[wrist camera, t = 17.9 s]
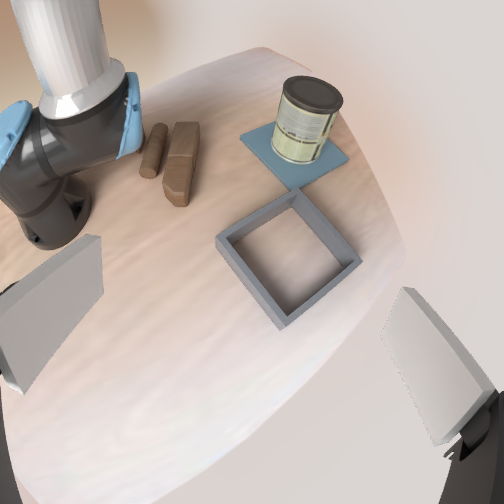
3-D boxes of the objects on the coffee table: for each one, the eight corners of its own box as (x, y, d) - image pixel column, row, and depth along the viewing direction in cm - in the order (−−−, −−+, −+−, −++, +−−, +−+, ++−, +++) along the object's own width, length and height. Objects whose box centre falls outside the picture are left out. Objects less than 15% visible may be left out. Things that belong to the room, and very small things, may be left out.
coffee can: (269, 126, 55) (281, 71, 42) (316, 132, 56) (336, 81, 43) (271, 162, 51) (286, 103, 38) (323, 168, 52) (349, 114, 39)
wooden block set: (200, 114, 49) (186, 190, 42) (200, 135, 54) (189, 209, 47) (117, 116, 47) (87, 189, 40) (123, 136, 52) (98, 207, 45)
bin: (215, 247, 44) (215, 235, 40) (292, 199, 49) (297, 186, 46) (279, 330, 40) (285, 326, 36) (352, 270, 45) (363, 261, 42)
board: (239, 139, 54) (240, 135, 53) (296, 116, 59) (297, 112, 58) (292, 193, 50) (293, 190, 49) (347, 161, 55) (349, 158, 54)
